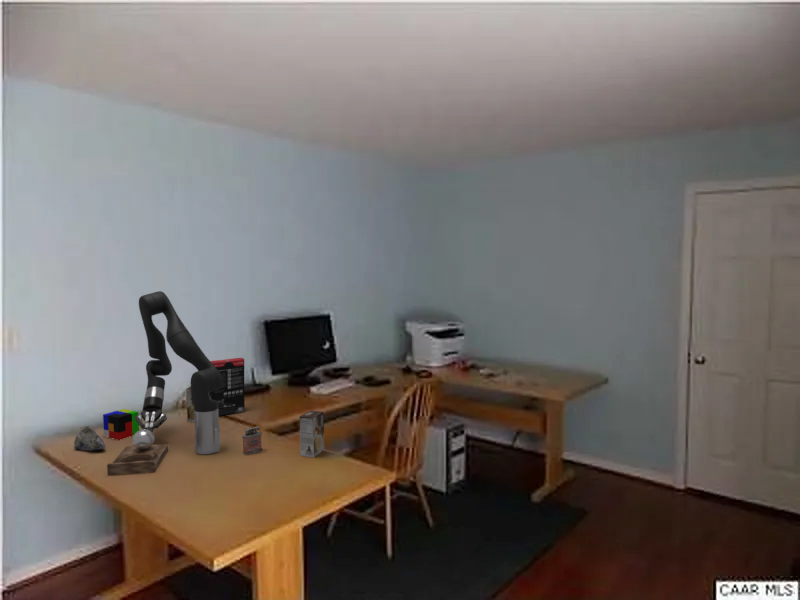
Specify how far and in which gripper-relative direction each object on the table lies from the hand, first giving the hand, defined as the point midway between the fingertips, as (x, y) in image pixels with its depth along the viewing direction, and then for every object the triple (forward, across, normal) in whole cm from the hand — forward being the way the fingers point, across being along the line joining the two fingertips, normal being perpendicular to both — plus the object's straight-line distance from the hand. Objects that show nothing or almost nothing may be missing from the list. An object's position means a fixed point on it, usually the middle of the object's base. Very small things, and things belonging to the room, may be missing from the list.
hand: (148, 437), depth 237 cm
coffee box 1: (-24, +14, +31) cm, 42 cm away
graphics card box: (-30, +26, +38) cm, 55 cm away
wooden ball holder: (+14, 0, -6) cm, 15 cm away
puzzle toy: (-12, -16, +19) cm, 28 cm away
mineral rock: (+1, -23, +6) cm, 24 cm away
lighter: (+12, +42, -4) cm, 44 cm away
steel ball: (+4, 0, -6) cm, 7 cm away
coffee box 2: (+16, +66, -8) cm, 68 cm away
